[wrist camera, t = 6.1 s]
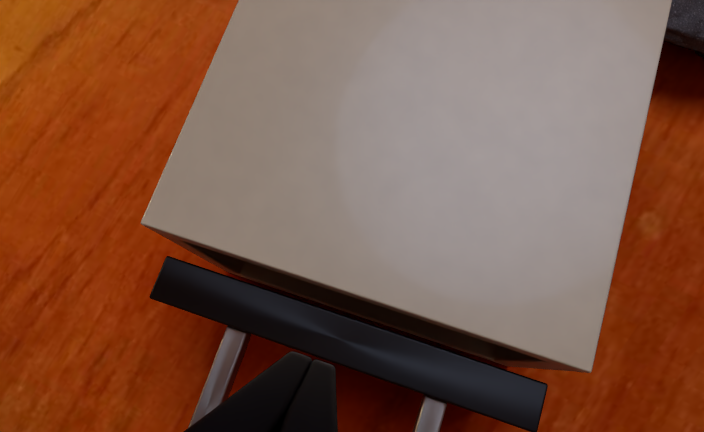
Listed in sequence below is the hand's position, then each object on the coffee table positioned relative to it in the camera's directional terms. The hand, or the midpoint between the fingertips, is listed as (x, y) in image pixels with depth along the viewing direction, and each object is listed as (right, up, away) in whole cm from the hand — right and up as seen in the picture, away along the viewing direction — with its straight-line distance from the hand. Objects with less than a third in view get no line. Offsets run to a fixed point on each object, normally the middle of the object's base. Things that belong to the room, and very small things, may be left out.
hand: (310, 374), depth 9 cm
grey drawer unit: (+3, +4, +13) cm, 14 cm away
